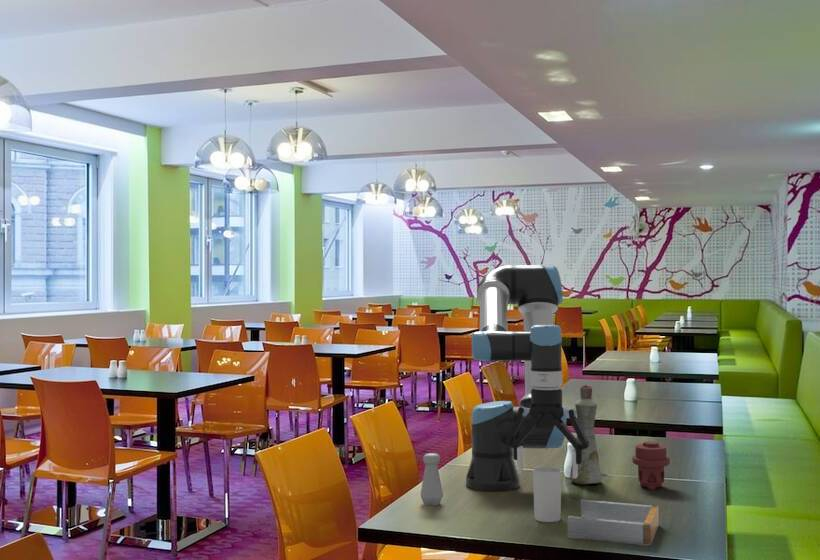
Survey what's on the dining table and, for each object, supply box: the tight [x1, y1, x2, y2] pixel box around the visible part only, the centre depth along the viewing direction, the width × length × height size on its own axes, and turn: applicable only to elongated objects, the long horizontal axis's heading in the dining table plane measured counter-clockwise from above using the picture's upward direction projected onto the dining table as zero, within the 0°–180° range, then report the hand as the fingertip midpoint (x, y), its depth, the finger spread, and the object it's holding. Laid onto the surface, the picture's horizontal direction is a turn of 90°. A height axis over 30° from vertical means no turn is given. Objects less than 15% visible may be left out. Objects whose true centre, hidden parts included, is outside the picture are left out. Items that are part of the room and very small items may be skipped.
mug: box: [532, 466, 562, 523], centre depth 211 cm, size 10×7×12 cm, turn 168°
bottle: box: [569, 384, 602, 486], centre depth 246 cm, size 9×9×28 cm
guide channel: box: [567, 499, 660, 547], centre depth 198 cm, size 18×17×4 cm
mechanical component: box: [631, 440, 671, 491], centre depth 240 cm, size 12×10×10 cm
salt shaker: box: [420, 452, 444, 507], centre depth 224 cm, size 6×6×13 cm
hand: (547, 475), depth 210 cm, fingers open, 13 cm apart
